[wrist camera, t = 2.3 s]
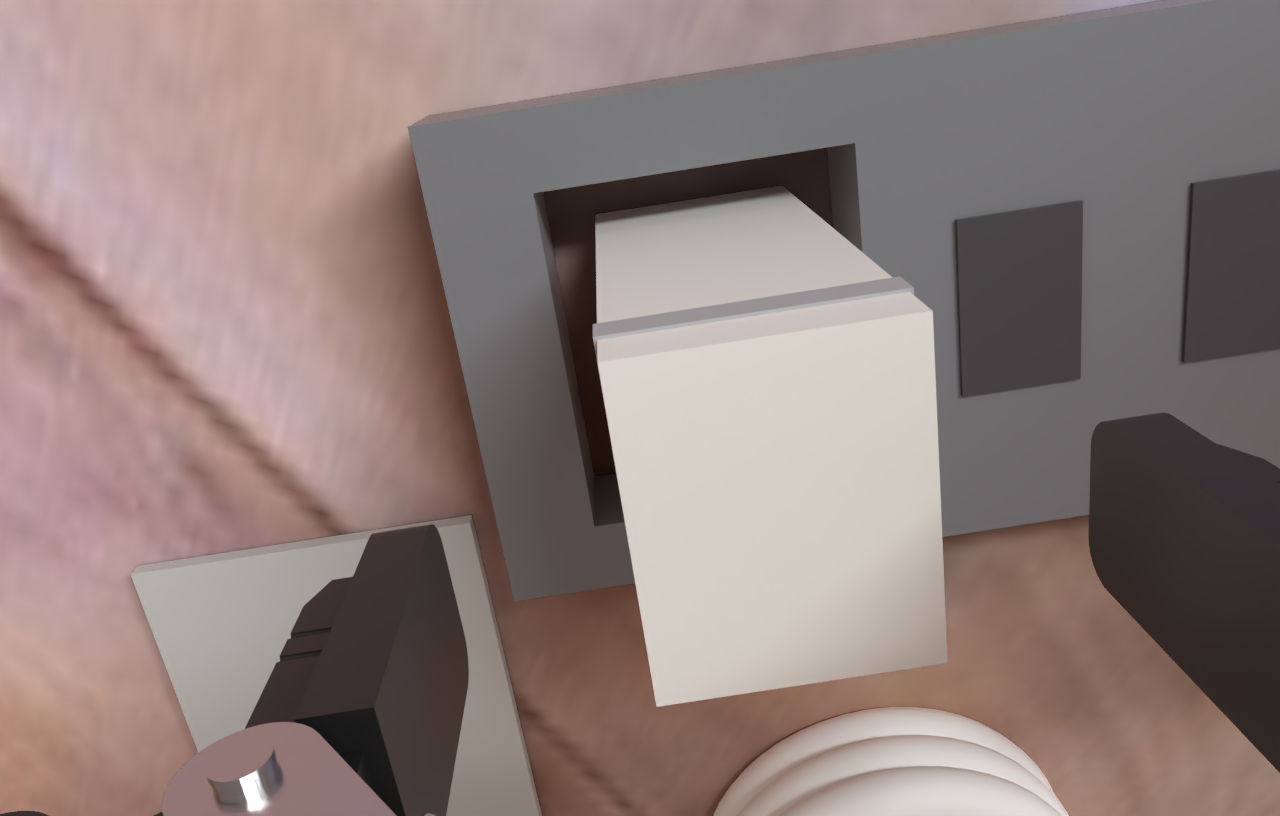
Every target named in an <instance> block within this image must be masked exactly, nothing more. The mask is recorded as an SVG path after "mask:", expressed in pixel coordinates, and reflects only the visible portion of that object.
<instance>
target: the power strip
mask: <svg viewBox="0 0 1280 816" xmlns="http://www.w3.org/2000/svg"><path fill="white" fill-rule="evenodd" d="M408 130H409V135H410V139H411V144H412V148H413V153H414V157H415V162H416V166H417V171H418V175H419V180H420V184H421V188H422V193H423V197H424V202H425V206H426V211H427V215H428V220H429V224H430V229H431V233H432V238H433V242H434V247H435V251H436V255H437V260H438V264H439V269H440V273H441V278H442V282H443V287H444V291H445V296H446V300H447V305H448V309H449V314H450V318H451V322H452V327H453V331H454V336H455V340H456V345H457V349H458V354H459V358H460V363H461V367H462V372H463V376H464V381H465V385H466V389H467V394H468V398H469V403H470V407H471V412H472V416H473V421H474V425H475V430H476V434H477V439H478V443H479V448H480V452H481V456H482V461H483V465H484V470H485V474H486V479H487V483H488V488H489V492H490V497H491V501H492V506H493V510H494V515H495V519H496V523H497V528H498V532H499V537H500V541H501V546H502V550H503V555H504V559H505V564H506V568H507V573H508V577H509V582H510V586H511V590H512V595H513V599H514V602H517V601H524V600H530V599H537V598H544V597H550V596H557V595H563V594H570V593H577V592H583V591H590V590H596V589H603V588H610V587H616V586H623V585H629V584H635V581H634V575H633V569H632V564H631V558H630V552H629V546H628V540H627V534H626V529H625V523H624V517H623V511H622V505H621V499H620V494H619V488H618V482H617V476H616V473H615V474H608V475H602V476H595V477H594V472H593V466H592V461H591V455H590V450H589V444H588V439H587V433H586V428H585V422H584V417H583V411H582V405H581V400H580V394H579V389H578V383H577V378H576V372H575V367H574V361H573V356H572V350H571V345H570V339H569V333H568V328H567V322H566V317H565V311H564V306H563V300H562V295H561V289H560V284H559V278H558V272H557V267H556V261H555V256H554V250H553V245H552V239H551V234H550V228H549V223H548V217H547V212H546V206H545V200H544V195H543V192H545V191H552V190H558V189H564V188H571V187H577V186H584V185H590V184H596V183H603V182H609V181H616V180H622V179H629V178H635V177H641V176H648V175H654V174H661V173H667V172H673V171H680V170H686V169H693V168H699V167H705V166H712V165H718V164H725V163H731V162H737V161H744V160H750V159H757V158H763V157H769V156H776V155H782V154H789V153H795V152H802V151H808V150H814V149H821V148H827V155H828V168H829V181H830V194H831V207H832V220H833V228H834V229H835V230H836V231H837V232H839V233H840V234H841V235H842V236H843V237H845V238H846V239H847V240H848V241H849V242H851V243H852V244H853V245H854V246H855V247H857V248H858V249H859V250H860V251H861V252H863V253H864V254H865V255H866V256H867V257H869V258H870V259H871V260H872V261H873V262H875V263H876V264H877V265H878V266H879V267H881V268H882V269H883V270H884V271H885V272H887V273H888V274H889V275H890V276H891V277H901V278H903V279H904V280H905V281H906V282H908V283H909V284H910V285H911V286H913V287H914V296H916V297H917V298H918V299H919V300H920V301H922V302H923V303H924V304H925V305H926V306H928V307H929V308H930V309H931V310H932V311H933V328H934V352H935V375H936V399H937V423H938V446H939V470H940V494H941V517H942V537H946V536H953V535H959V534H966V533H973V532H979V531H986V530H992V529H999V528H1006V527H1012V526H1019V525H1025V524H1032V523H1039V522H1045V521H1052V520H1058V519H1065V518H1072V517H1078V516H1085V515H1089V502H1090V454H1091V439H1092V434H1093V431H1094V429H1095V427H1096V426H1097V425H1098V424H1099V423H1100V422H1103V421H1110V420H1116V419H1123V418H1129V417H1135V416H1142V415H1148V414H1155V413H1162V412H1165V413H1168V414H1170V415H1172V416H1174V417H1175V418H1177V419H1179V420H1180V421H1182V422H1183V423H1185V424H1186V425H1188V426H1189V427H1191V428H1192V429H1194V430H1196V431H1197V432H1199V433H1200V434H1202V435H1203V436H1205V437H1206V438H1208V439H1210V440H1211V441H1213V442H1214V443H1216V444H1220V445H1223V446H1226V447H1229V448H1232V449H1235V450H1238V451H1241V452H1245V453H1248V454H1251V455H1254V456H1257V457H1260V458H1263V459H1265V460H1267V461H1268V462H1270V463H1271V464H1273V465H1275V466H1276V467H1278V468H1279V469H1280V0H1161V1H1154V2H1148V3H1142V4H1135V5H1129V6H1123V7H1116V8H1110V9H1104V10H1097V11H1091V12H1084V13H1078V14H1072V15H1065V16H1059V17H1053V18H1046V19H1040V20H1034V21H1027V22H1021V23H1014V24H1008V25H1002V26H995V27H989V28H983V29H976V30H970V31H964V32H957V33H951V34H944V35H938V36H932V37H925V38H919V39H913V40H906V41H900V42H894V43H887V44H881V45H874V46H868V47H862V48H855V49H849V50H843V51H836V52H830V53H824V54H817V55H811V56H804V57H798V58H792V59H785V60H779V61H773V62H766V63H760V64H754V65H747V66H741V67H734V68H728V69H722V70H715V71H709V72H703V73H696V74H690V75H684V76H677V77H671V78H664V79H658V80H652V81H645V82H639V83H633V84H626V85H620V86H614V87H607V88H601V89H594V90H588V91H582V92H575V93H569V94H563V95H556V96H550V97H544V98H537V99H531V100H524V101H518V102H512V103H505V104H499V105H493V106H486V107H480V108H474V109H467V110H461V111H454V112H448V113H442V114H435V115H429V116H427V117H425V118H424V119H422V120H420V121H418V122H416V123H414V124H412V125H411V126H409V127H408Z"/></svg>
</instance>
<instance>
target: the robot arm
mask: <svg viewBox="0 0 1280 816" xmlns="http://www.w3.org/2000/svg"><path fill="white" fill-rule="evenodd" d="M1089 546H1090V553H1091V557H1092V561H1093V564H1094V567H1095V570H1096V572H1097V575H1098V577H1099V579H1100V581H1101V582H1102V584H1103V586H1104V587H1105V588H1106V589H1107V591H1108V592H1109V593H1110V594H1111V595H1112V596H1113V597H1114V598H1115V599H1116V600H1117V601H1118V602H1119V603H1120V604H1121V605H1122V607H1123V608H1124V609H1125V610H1126V611H1127V612H1128V613H1129V614H1130V615H1131V616H1132V617H1133V618H1134V619H1135V620H1136V621H1137V622H1138V623H1139V624H1140V626H1141V627H1142V628H1143V629H1144V630H1145V631H1146V632H1147V633H1148V634H1149V635H1150V636H1151V637H1152V638H1153V639H1154V640H1155V641H1156V642H1157V643H1158V645H1159V646H1160V647H1161V648H1162V649H1163V650H1164V651H1165V652H1166V653H1167V654H1168V655H1169V656H1170V657H1171V658H1172V659H1173V660H1174V661H1175V663H1176V664H1177V665H1178V666H1179V667H1180V668H1181V669H1182V670H1183V671H1184V672H1185V673H1186V674H1187V675H1188V676H1189V677H1190V678H1191V679H1192V680H1193V682H1194V683H1195V684H1196V685H1197V686H1198V687H1199V688H1200V689H1201V690H1202V691H1203V692H1204V693H1205V694H1206V695H1207V696H1208V697H1209V698H1210V699H1211V701H1212V702H1213V703H1214V704H1215V705H1216V706H1217V707H1218V708H1219V709H1220V710H1221V711H1222V712H1223V713H1224V714H1225V715H1226V716H1227V717H1228V718H1229V720H1230V721H1231V722H1232V723H1233V724H1234V725H1235V726H1236V727H1237V728H1238V729H1239V730H1240V731H1241V732H1242V733H1243V734H1244V735H1245V736H1246V737H1247V739H1248V740H1249V741H1250V742H1251V743H1252V744H1253V745H1254V746H1255V747H1256V748H1257V749H1258V750H1259V751H1260V752H1261V753H1262V754H1263V755H1264V756H1265V758H1266V759H1267V760H1268V761H1269V762H1270V763H1271V764H1272V765H1273V766H1274V767H1275V768H1276V769H1277V770H1278V771H1279V772H1280V469H1279V468H1278V467H1276V466H1275V465H1273V464H1271V463H1270V462H1268V461H1267V460H1265V459H1263V458H1260V457H1257V456H1254V455H1251V454H1248V453H1245V452H1241V451H1238V450H1235V449H1232V448H1229V447H1226V446H1223V445H1220V444H1216V443H1214V442H1213V441H1211V440H1210V439H1208V438H1206V437H1205V436H1203V435H1202V434H1200V433H1199V432H1197V431H1196V430H1194V429H1192V428H1191V427H1189V426H1188V425H1186V424H1185V423H1183V422H1182V421H1180V420H1179V419H1177V418H1175V417H1174V416H1172V415H1170V414H1168V413H1165V412H1162V413H1155V414H1148V415H1142V416H1135V417H1129V418H1123V419H1116V420H1110V421H1103V422H1100V423H1099V424H1098V425H1097V426H1096V427H1095V429H1094V431H1093V434H1092V439H1091V454H1090V502H1089ZM290 634H291V639H287V642H286V644H285V646H284V648H283V650H282V652H281V654H280V656H279V657H280V662H276V664H275V667H274V669H273V671H272V673H271V675H270V677H269V679H268V681H267V683H266V685H265V687H264V689H263V692H262V694H261V696H260V698H259V700H258V702H257V704H256V706H255V708H254V710H253V712H252V714H251V717H250V719H249V721H248V723H247V725H246V727H245V729H243V730H241V731H238V732H235V733H233V734H231V735H228V736H226V737H224V738H222V739H220V740H218V741H216V742H215V743H213V744H211V745H210V746H208V747H206V748H205V749H203V750H202V751H201V752H199V753H198V754H196V755H195V756H194V757H193V758H191V759H190V760H189V761H188V762H187V763H186V764H184V766H183V767H182V768H181V769H180V770H179V771H178V772H177V773H176V774H175V776H174V777H173V778H172V780H171V781H170V783H169V784H168V786H167V788H166V790H165V792H164V795H163V799H162V812H160V813H158V814H156V815H154V816H446V814H447V808H448V802H449V796H450V790H451V784H452V778H453V772H454V766H455V760H456V755H457V749H458V743H459V737H460V731H461V725H462V719H463V713H464V707H465V702H466V696H467V690H468V680H469V666H468V653H467V646H466V640H465V635H464V630H463V626H462V622H461V618H460V614H459V609H458V605H457V601H456V597H455V593H454V589H453V585H452V581H451V576H450V572H449V568H448V564H447V560H446V556H445V552H444V548H443V544H442V540H441V537H440V534H439V532H438V530H437V528H436V526H435V525H433V524H430V525H423V526H417V527H410V528H404V529H397V530H391V531H385V532H378V533H372V534H371V535H370V537H369V539H368V542H367V544H366V547H365V549H364V551H363V554H362V556H361V559H360V561H359V563H358V566H357V568H356V571H355V573H354V575H353V577H347V578H341V579H335V580H332V581H330V582H329V583H328V584H327V585H326V586H325V587H324V588H323V589H322V590H321V591H319V592H318V593H317V594H316V595H315V596H314V597H313V598H312V599H311V600H310V601H309V602H307V603H306V604H305V605H304V606H303V608H302V610H301V612H300V614H299V617H298V619H297V621H296V623H295V625H294V627H293V629H292V631H291V633H290ZM0 816H48V815H46V814H44V813H40V812H35V811H17V812H9V813H4V814H0Z"/></svg>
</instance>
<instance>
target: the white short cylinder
mask: <svg viewBox="0 0 1280 816" xmlns="http://www.w3.org/2000/svg"><path fill="white" fill-rule="evenodd" d="M713 816H1069V815H1068V813H1067V812H1066V810H1065V809H1064V807H1063V806H1062V804H1061V803H1060V801H1059V800H1058V798H1057V797H1056V796H1055V795H1054V793H1053V790H1052V788H1051V786H1050V784H1049V782H1048V780H1047V779H1046V777H1045V776H1044V774H1043V773H1042V771H1041V770H1040V768H1039V767H1038V766H1037V765H1036V764H1035V763H1034V762H1033V761H1032V760H1031V758H1030V757H1029V756H1028V755H1027V754H1026V753H1025V752H1024V751H1023V750H1021V749H1020V748H1019V747H1018V746H1016V745H1015V744H1014V743H1012V742H1011V741H1010V740H1008V739H1007V738H1006V737H1004V736H1003V735H1002V734H1000V733H999V732H997V731H995V730H993V729H992V728H990V727H988V726H986V725H984V724H982V723H980V722H978V721H975V720H973V719H970V718H967V717H964V716H962V715H959V714H955V713H950V712H946V711H941V710H937V709H929V708H919V707H884V708H875V709H866V710H862V711H857V712H852V713H848V714H843V715H840V716H837V717H834V718H831V719H828V720H824V721H821V722H819V723H816V724H814V725H812V726H810V727H807V728H805V729H803V730H800V731H798V732H796V733H794V734H793V735H791V736H789V737H787V738H786V739H784V740H782V741H780V742H778V743H777V744H776V745H774V746H773V747H771V748H770V749H769V750H767V751H766V752H764V753H763V754H762V755H760V756H759V757H758V758H757V759H756V760H755V761H754V762H752V763H751V764H750V765H749V766H748V767H747V768H746V769H745V770H744V771H743V772H742V773H741V774H740V775H739V776H738V778H737V779H736V780H735V781H734V782H733V783H732V785H731V786H730V787H729V789H728V790H727V792H726V793H725V795H724V796H723V798H722V799H721V801H720V802H719V804H718V806H717V808H716V810H715V813H714V815H713Z"/></svg>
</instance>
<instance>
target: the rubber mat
mask: <svg viewBox="0 0 1280 816" xmlns="http://www.w3.org/2000/svg"><path fill="white" fill-rule="evenodd" d="M430 524H433V525H435V526H436V528H437V530H438V532H439V534H440V537H441V540H442V544H443V548H444V552H445V556H446V560H447V564H448V568H449V572H450V576H451V581H452V585H453V589H454V593H455V597H456V601H457V605H458V609H459V614H460V618H461V622H462V626H463V630H464V635H465V640H466V646H467V653H468V666H469V680H468V690H467V696H466V702H465V707H464V713H463V719H462V725H461V731H460V737H459V743H458V749H457V755H456V760H455V766H454V772H453V778H452V784H451V790H450V796H449V802H448V808H447V814H446V816H542V814H541V809H540V805H539V801H538V797H537V792H536V788H535V784H534V779H533V775H532V771H531V767H530V762H529V758H528V754H527V749H526V745H525V741H524V737H523V732H522V728H521V724H520V719H519V715H518V711H517V706H516V702H515V698H514V694H513V689H512V685H511V681H510V676H509V672H508V668H507V664H506V659H505V655H504V651H503V646H502V642H501V638H500V634H499V629H498V625H497V621H496V616H495V612H494V608H493V604H492V599H491V595H490V591H489V586H488V582H487V578H486V574H485V569H484V565H483V561H482V556H481V552H480V548H479V544H478V539H477V535H476V531H475V526H474V522H473V518H472V515H468V516H462V517H455V518H449V519H442V520H436V521H429V522H422V523H416V524H409V525H403V526H396V527H390V528H383V529H377V530H370V531H363V532H357V533H350V534H344V535H337V536H331V537H324V538H318V539H311V540H304V541H298V542H291V543H285V544H278V545H272V546H265V547H259V548H252V549H245V550H239V551H232V552H226V553H219V554H213V555H206V556H200V557H193V558H186V559H180V560H173V561H167V562H160V563H154V564H147V565H141V566H137V567H136V569H135V570H134V571H133V572H132V573H131V574H130V575H131V578H132V580H133V583H134V585H135V588H136V591H137V593H138V596H139V599H140V601H141V604H142V606H143V609H144V612H145V614H146V617H147V620H148V622H149V625H150V627H151V630H152V633H153V635H154V638H155V640H156V643H157V646H158V648H159V651H160V654H161V656H162V659H163V661H164V664H165V667H166V669H167V672H168V675H169V677H170V680H171V682H172V685H173V688H174V690H175V693H176V696H177V698H178V701H179V703H180V706H181V709H182V711H183V714H184V717H185V719H186V722H187V724H188V727H189V730H190V732H191V735H192V737H193V740H194V743H195V745H196V748H197V751H198V753H199V752H201V751H202V750H203V749H205V748H206V747H208V746H210V745H211V744H213V743H215V742H216V741H218V740H220V739H222V738H224V737H226V736H228V735H231V734H233V733H235V732H238V731H241V730H243V729H245V727H246V725H247V723H248V721H249V719H250V717H251V714H252V712H253V710H254V708H255V706H256V704H257V702H258V700H259V698H260V696H261V694H262V692H263V689H264V687H265V685H266V683H267V681H268V679H269V677H270V675H271V673H272V671H273V669H274V667H275V664H276V662H280V657H279V656H280V654H281V652H282V650H283V648H284V646H285V644H286V642H287V639H291V634H290V633H291V631H292V629H293V627H294V625H295V623H296V621H297V619H298V617H299V614H300V612H301V610H302V608H303V606H304V605H305V604H306V603H307V602H309V601H310V600H311V599H312V598H313V597H314V596H315V595H316V594H317V593H318V592H319V591H321V590H322V589H323V588H324V587H325V586H326V585H327V584H328V583H329V582H330V581H332V580H335V579H341V578H347V577H353V575H354V573H355V571H356V568H357V566H358V563H359V561H360V559H361V556H362V554H363V551H364V549H365V547H366V544H367V542H368V539H369V537H370V535H371V534H372V533H378V532H385V531H391V530H397V529H404V528H410V527H417V526H423V525H430Z"/></svg>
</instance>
